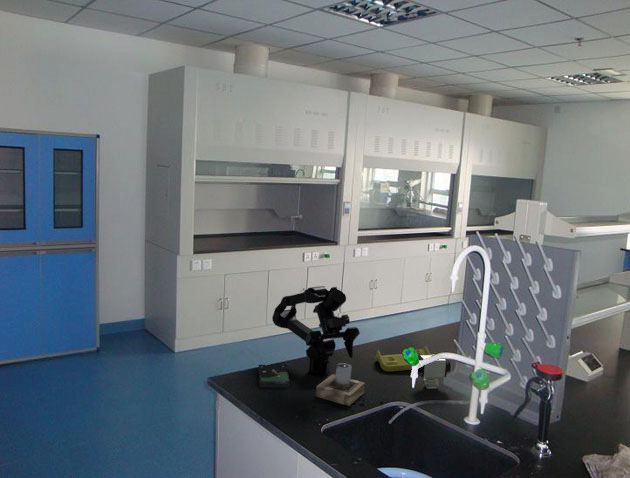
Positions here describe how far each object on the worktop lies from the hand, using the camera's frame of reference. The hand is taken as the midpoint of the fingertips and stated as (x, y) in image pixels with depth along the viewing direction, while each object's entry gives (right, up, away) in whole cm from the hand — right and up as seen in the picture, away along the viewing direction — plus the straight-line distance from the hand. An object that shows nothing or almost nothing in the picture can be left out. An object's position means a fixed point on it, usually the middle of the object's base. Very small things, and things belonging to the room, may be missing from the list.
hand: (339, 358), depth 172 cm
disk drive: (-23, -9, +7) cm, 26 cm away
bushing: (+1, -11, -3) cm, 12 cm away
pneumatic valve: (+32, -12, +7) cm, 35 cm away
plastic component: (+25, -9, +25) cm, 37 cm away
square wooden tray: (+1, -11, -3) cm, 12 cm away
